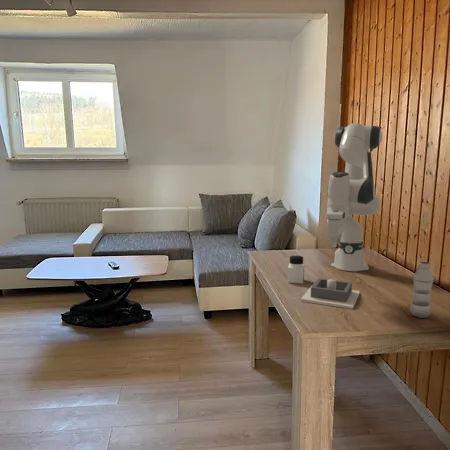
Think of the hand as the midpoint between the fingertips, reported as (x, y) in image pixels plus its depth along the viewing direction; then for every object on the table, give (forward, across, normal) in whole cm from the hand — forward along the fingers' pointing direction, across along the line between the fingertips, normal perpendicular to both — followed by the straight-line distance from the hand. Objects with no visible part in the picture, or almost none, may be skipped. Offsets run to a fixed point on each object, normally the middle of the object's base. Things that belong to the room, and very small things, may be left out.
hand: (336, 244), depth 170 cm
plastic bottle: (+21, +14, +33) cm, 41 cm away
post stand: (+21, +7, 0) cm, 22 cm away
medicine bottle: (+21, -8, -19) cm, 30 cm away
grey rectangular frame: (+20, +6, 0) cm, 20 cm away
